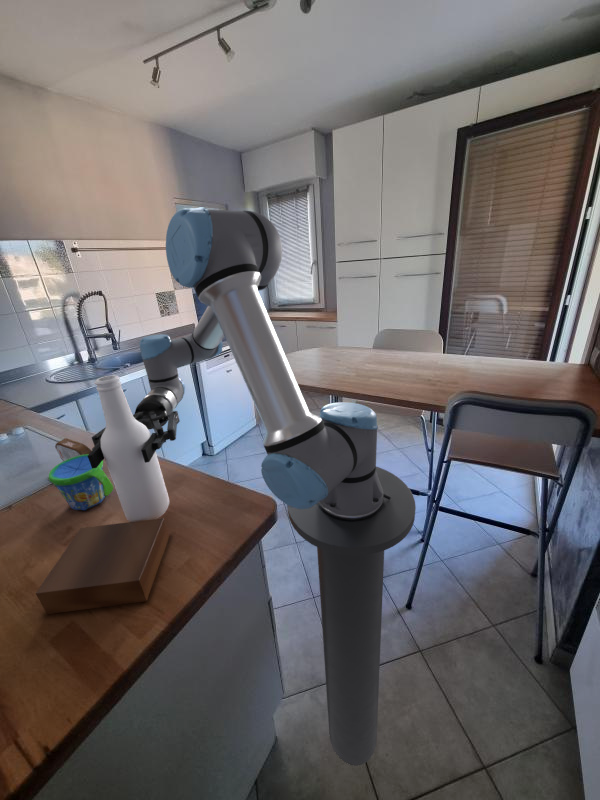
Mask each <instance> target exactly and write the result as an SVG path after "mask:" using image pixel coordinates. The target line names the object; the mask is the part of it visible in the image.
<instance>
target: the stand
mask: <svg viewBox="0 0 600 800" xmlns="http://www.w3.org/2000/svg"><path fill="white" fill-rule="evenodd" d="M169 539H170V535H169V531H168V528H167V524H166V521H165V518H164V517H162V518H161V517H160V518H158V519H152V520H144V521H135V522H130V521H128V522H119V523H111V524H102V525H94V526H86V527H80V529H79V530H78V531H77V533H76V534H75V536H74V537H73V539H72V540H71V541H70V543H69V544H68V546H67V547H66V548H65V550H64V551H63V553H62V554H61V555H60V557H59V558H58V560H57V561H56V563H55V564H54V566H53V567H52V569H51V570H50V572H49V573H48V575H47V576H46V577H45V579H44V581H43V582H42V583H41V585H40V586H39V588H38V589H37V590H36V592H35V595H36V598H37V599H38V601H39V603H40V604H41V606H42V608H43V610H44V612H45V613H46V615H52V614H58V613H59V614H60V613H68V612H75V611H82V610H83V611H84V610H90V609H99V608H107V607H112V606H113V607H114V606H121V605H128V604H137V603H144V602H147V601H148V598H149V596H150V594H151V590H152V587H153V585H154V582H155V579H156V576H157V573H158V570H159V567H160V565H161V561H162V559H163V556H164V554H165V551H166V548H167V546H168V545H167V544H168V542H169Z"/></svg>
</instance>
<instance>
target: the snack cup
mask: <svg viewBox="0 0 600 800" xmlns="http://www.w3.org/2000/svg"><path fill="white" fill-rule="evenodd" d="M88 455H89V454H85V455H80V456H76V457H72V458H70V459H67V460H65V461H63V460H62V461H61V462H60V463H58V464H56V465H55V466H54V467H53V468H51V470H50V471H49V473H48V480H49V482H50V483H52V484H53V485H54V487H56V488H57V490H58V491H59V493H60V494H61V496H62V498H64V500H65V502H66V503H67V504H68V506H69V507H70V508H71V509H72V510H74V511H86V510H88V509H91V508H94V507H96V506H97V505H98V504H102V502H103V500H104V499H105V498H106V497H109V495H111V493H112V492H113V490H114V484H113V482H111V480H110V478H109V477H108V476H107V474H106V472H105V471H104V470H103V467H104V460H103V461H102V462H101V463H100V464H99V465H98V467H97V468H92V467H91V464H90V461H89V459H88Z"/></svg>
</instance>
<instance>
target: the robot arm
mask: <svg viewBox="0 0 600 800" xmlns="http://www.w3.org/2000/svg"><path fill="white" fill-rule="evenodd" d="M166 229H167V230H166V236H165V254H166V255H165V256H166V261H167V266H168V268H169V271H170V274H171V275H172V277H173V279H174V280H175V282H177V283H178V284H179V285H180V286H181V287H184V288H187V289H190V288H193V290H194V291H195V294H196V297H197V299H198V301H199V302H200V303H201V304H203V305H206V306H207V307H206V309H205V310H204V312H203V314H202V315H201V316H200V319H199V321H198V322H197V324H196V326H195V328H194V329H193V331H192V332H191V334H190V335H187V336H182V337H178V338H175V339H174V338H173V339H171V337H170V336H169V335H168V334H165V333H162V334H153V335H147V336H144V337H142V338H140V340H139V350H140V355H141V360H142V362H143V365H144V369H145V372H146V376H147V380H148V384H149V388H150V391H149V392H148V393H147V394H146V395H145V396H144V397H143V399H142V400H141V401H140V402H139V403H138V404H137V406H136V407H135V411H134V414H133V417H134V418H135V419H136V420H137V421H139V422H141V423H142V424H144V425H145V426H146V427H147V429H148V430H153V431H154V432H152V433H151V436H150V438H149V439H148V441H147V442H146V444H145V445H144V447H143V448H142V450H141V451H142V454H143V458H144V461H145V463H146V462H149V461H150V460H151V458H152V456H153V455H154V453H155V451H156V452H157V450H160V449H161V448H162V447H163V445H164V444H166V443H167V441H171V442H172V441H176V440H177V428H178V424H179V423H180V422H181V420H180V415H179V412H178V410H176V408H177V407H178V405H179V403H180V402H181V401H182V400H183V398H184V395H185V392H186V385H185V382H184V381H183V380H182V379H181V377H179V371H178V369H179V368H182V367H185V366H189V365H191V364H195V363H198V362H203V361H206V360H210V359H213V358H215V357H218V356H219V355H221V354H222V352H223V347H224V343H223V339H224V338H225V340H226V343H227V345H228V347H229V349H230V352H231V354H232V356H233V358H234V361H235V363H236V365H237V367H238V369H239V372H240V374H241V376H242V379H243V381H244V383H245V386H246V388H247V390H248V392H249V394H250V397H251V399H252V401H253V404H254V406H255V408H256V411H257V412H258V415H259V417H260V420H261V422H262V425H263V427H264V428H265V430H266V432H265V436H264V439H263V441H262V445H263V448H264V450H265V452H266V454H267V455H266V456H265V457H264V459H262V462H261V465H260V466H261V470H260V471H261V476H262V479H263V480H264V483H265V485H266V486H267V487H268V489H269V490H270V492H271V494H273V495H274V496H275V497H276V498H277V499H278V500H280V501H281V502H283V503H284V504H285V505H286V506H287V505H289V506H291V507H293V508H297V509H308V508H311V507H313V506H314V505H315V504H317V503H318V505H319V507H320V509H321V510H322V511H323V512H324V513H326V514H327V515H329V516H330V517H333V518H335V519H338V520H342V521H361V520H365V519H368V518H371V517H372V516H374V515H376V514H377V513H378V512H379V511H380V509H381V508H382V505H383V497H384V498H387V499H389V500H390V498H391V497H390V496H388V495H386V494H384V493H383V489H382V486H381V484H380V481H379V478H378V475H377V473H376V467H377V449H378V447H377V446H378V445H377V444H378V441H377V440H378V429H379V426H378V417H377V413H376V412H375V411H374V410H373V409H372V408H371V407H369V406H366V405H364V404H361V403H355V402H347V401H344V402H341V401H339V402H333V403H328V404H325V405H324V406H322V407H321V408H320V412H319V415H316V414H314V413H312V412H310V409H309V408H308V405H307V403H306V400H305V398H304V395H303V394H302V393H303V392H302V391H301V389H300V386H299V384H298V381H297V379H296V376H295V374H294V372H293V370H292V368H291V365H290V363H289V359H288V357H287V356H286V353H285V351H284V349H283V346H282V343H281V341H280V339H279V337H278V334H277V332H276V330H275V327H274V325H273V323H272V320H271V318H270V315H269V313H268V311H267V308H266V306H265V303H264V302H263V299H262V297H261V295H260V291H263V290H265V289H266V288H267V287H268V286H269V284H270V283H271V282H272V281H273V279H274V278H275V276H276V275H277V272H278V271H279V269H280V266H281V263H282V258H283V243H282V239H281V235H280V233H279V230H277V228H276V226H275V225H274V224H273V222H271V220H270V219H269V218H267V217H266V216H265V215H263V214H261V213H260V212H256V211H252V210H232V209H230V210H229V209H211V208H209V209H208V208H206V207H204V206H199V207H192V208H191V207H189V208H188V207H186V208H181V209H179V210H178V211H176V212H175V213H174V214H173V216H171V219H170V220H169V223H168V225H167V228H166ZM166 424H167V428H166V430H164V426H165V425H166ZM105 429H106V426H105V427H104V428H102V429H101V430H100V431H98V432H97V433H95V434H94V435H92V437H91V440H92V443H93V447H92V448H91V453H90V454H89V455H88V459H89V461H90V464H91V467H92V468H97V467H98V465H99V464H100V463H101V462H102V461H103V462H104V460H105V458H104V455H103V452H102V450H101V437H102V434H103V432H104V431H105Z"/></svg>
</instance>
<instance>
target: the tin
mask: <svg viewBox="0 0 600 800" xmlns="http://www.w3.org/2000/svg"><path fill="white" fill-rule="evenodd" d="M54 448H55V450H56V452H57V453H58V455H59V458H60V459H61V461H62V462H63V461H65V460H67V459H70V458H72V457H76V456H80V455H85V454H90V453H91V451H92V449H90V447H89V446H88V445H86V444H85V443H83V442H79V441H76V440H73V439H71V438H67V437H65V438H63V439H62V440H59V441H58V442H56V443H55V446H54Z"/></svg>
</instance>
